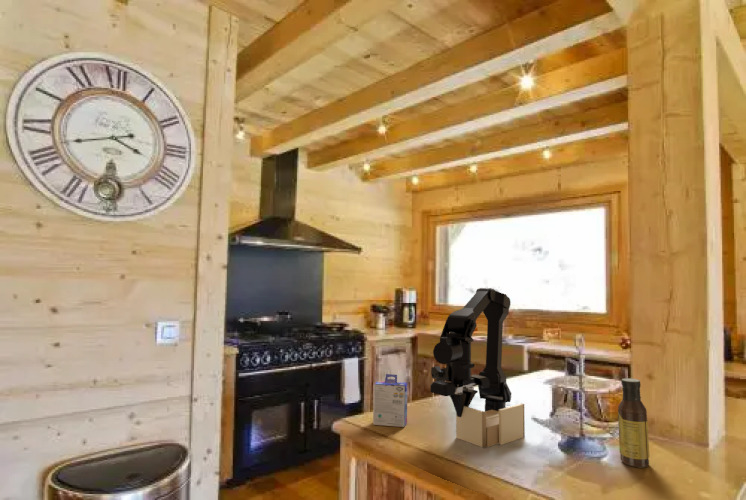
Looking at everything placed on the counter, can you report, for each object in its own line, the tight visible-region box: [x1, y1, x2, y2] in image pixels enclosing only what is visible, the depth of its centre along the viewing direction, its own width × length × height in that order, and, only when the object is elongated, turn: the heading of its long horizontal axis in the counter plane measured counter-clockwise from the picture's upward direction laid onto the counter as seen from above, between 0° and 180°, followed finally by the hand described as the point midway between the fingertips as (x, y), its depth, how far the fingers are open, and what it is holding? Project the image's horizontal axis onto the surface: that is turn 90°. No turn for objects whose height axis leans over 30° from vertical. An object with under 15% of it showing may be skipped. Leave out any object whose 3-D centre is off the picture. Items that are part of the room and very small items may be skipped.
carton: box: [484, 410, 499, 448], centre depth 128 cm, size 15×10×5 cm, turn 128°
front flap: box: [455, 406, 487, 449], centre depth 123 cm, size 1×10×9 cm, turn 38°
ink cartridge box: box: [372, 373, 408, 428], centre depth 139 cm, size 10×6×14 cm, turn 78°
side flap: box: [498, 403, 526, 445], centre depth 125 cm, size 11×1×9 cm, turn 128°
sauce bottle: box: [617, 377, 650, 469], centre depth 110 cm, size 6×6×20 cm
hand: (460, 416), depth 126 cm, fingers closed, pressing on front flap
